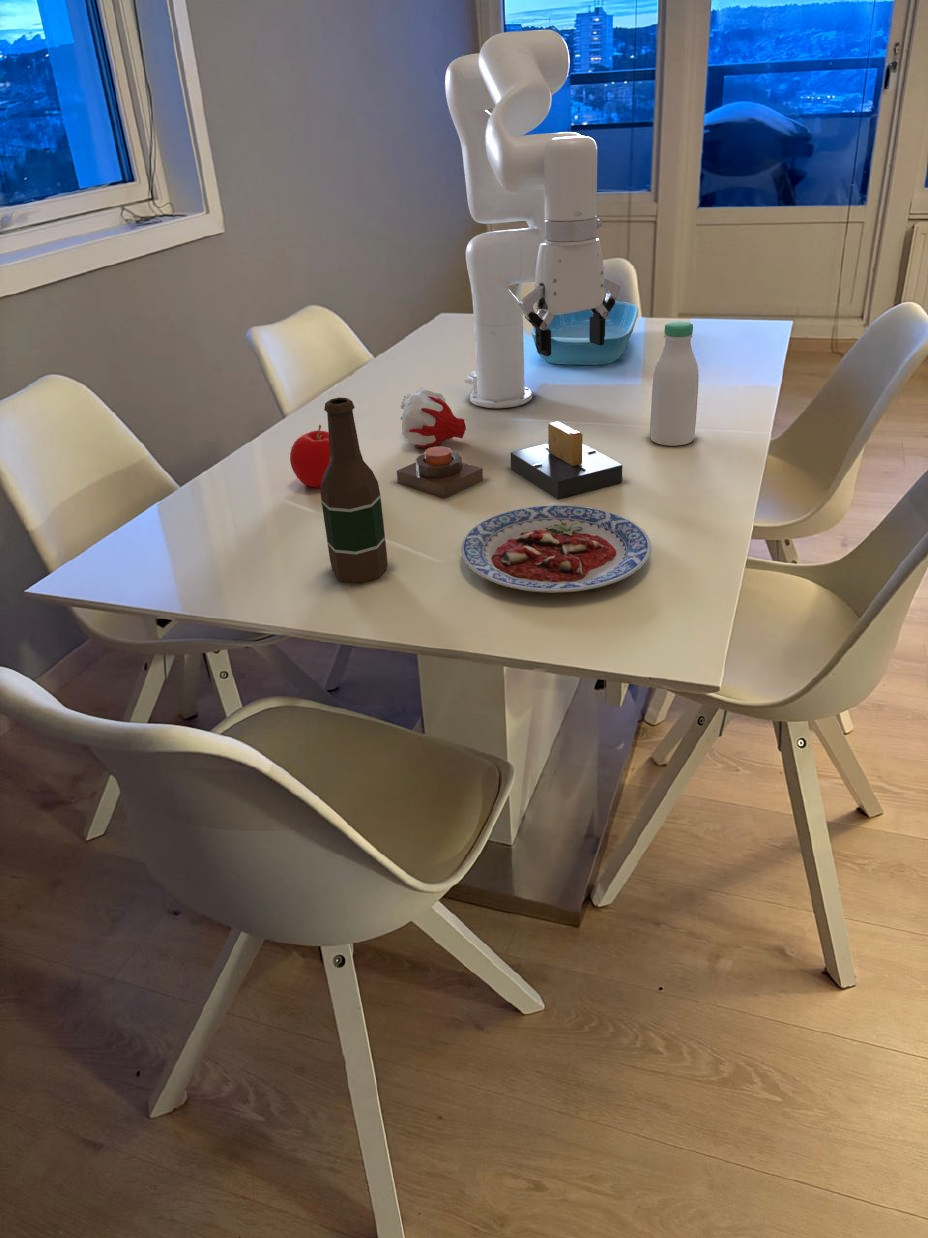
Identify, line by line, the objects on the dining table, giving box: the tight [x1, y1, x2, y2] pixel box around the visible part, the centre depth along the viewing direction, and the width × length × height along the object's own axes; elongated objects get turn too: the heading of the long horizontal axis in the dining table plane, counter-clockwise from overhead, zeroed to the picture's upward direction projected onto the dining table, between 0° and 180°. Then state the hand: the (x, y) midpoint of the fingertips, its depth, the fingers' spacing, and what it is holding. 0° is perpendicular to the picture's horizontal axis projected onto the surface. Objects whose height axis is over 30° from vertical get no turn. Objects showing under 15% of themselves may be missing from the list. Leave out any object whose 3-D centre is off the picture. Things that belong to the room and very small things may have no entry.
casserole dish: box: [530, 300, 639, 366], centre depth 217 cm, size 37×22×7 cm, turn 166°
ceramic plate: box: [460, 504, 652, 594], centre depth 129 cm, size 26×26×3 cm
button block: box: [396, 451, 484, 499], centre depth 154 cm, size 11×9×4 cm
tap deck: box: [509, 442, 623, 500], centre depth 153 cm, size 15×12×3 cm
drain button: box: [423, 445, 453, 465], centre depth 153 cm, size 4×4×2 cm
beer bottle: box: [319, 397, 388, 584], centre depth 123 cm, size 8×8×24 cm
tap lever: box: [547, 421, 584, 466], centre depth 151 cm, size 8×2×5 cm, turn 27°
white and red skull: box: [400, 387, 467, 449], centre depth 168 cm, size 9×11×15 cm
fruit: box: [289, 424, 330, 489], centre depth 155 cm, size 9×9×10 cm
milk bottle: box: [649, 320, 700, 447], centre depth 161 cm, size 8×8×20 cm
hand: (570, 348), depth 146 cm, fingers open, 9 cm apart
